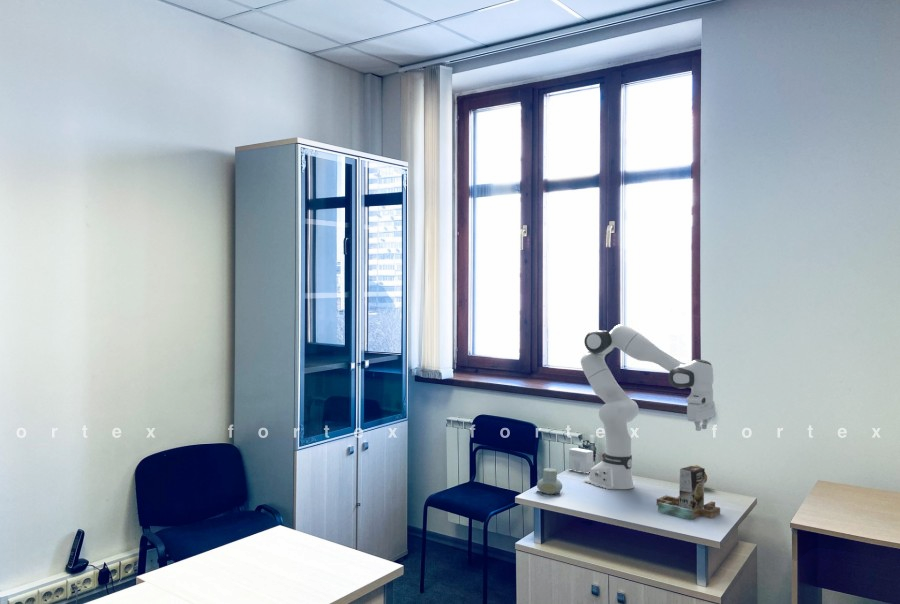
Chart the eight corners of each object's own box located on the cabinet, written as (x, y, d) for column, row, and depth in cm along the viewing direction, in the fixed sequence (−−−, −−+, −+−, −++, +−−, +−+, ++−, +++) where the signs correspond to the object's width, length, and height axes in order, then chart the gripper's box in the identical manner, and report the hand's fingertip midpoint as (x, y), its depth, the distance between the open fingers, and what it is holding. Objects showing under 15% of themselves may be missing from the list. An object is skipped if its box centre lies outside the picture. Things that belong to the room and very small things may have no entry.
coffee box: (693, 511, 272) (693, 471, 272) (678, 507, 277) (679, 468, 277) (704, 507, 278) (705, 468, 278) (690, 503, 283) (690, 465, 283)
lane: (647, 509, 275) (647, 500, 275) (672, 498, 290) (672, 490, 290) (703, 522, 259) (703, 513, 259) (726, 510, 274) (726, 502, 274)
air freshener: (562, 491, 299) (563, 468, 299) (561, 496, 291) (561, 472, 291) (538, 488, 301) (538, 466, 301) (535, 494, 293) (536, 470, 293)
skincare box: (593, 471, 333) (593, 450, 333) (585, 474, 329) (586, 452, 329) (575, 467, 341) (576, 446, 341) (568, 470, 336) (568, 448, 336)
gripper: (705, 394, 302) (704, 425, 302) (684, 398, 287) (683, 431, 287) (719, 396, 298) (718, 427, 298) (698, 400, 283) (698, 433, 283)
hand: (701, 429), depth 292 cm, fingers open, 4 cm apart
